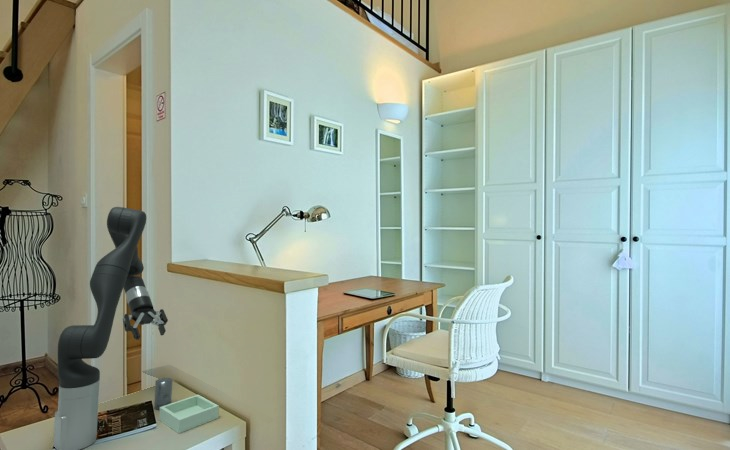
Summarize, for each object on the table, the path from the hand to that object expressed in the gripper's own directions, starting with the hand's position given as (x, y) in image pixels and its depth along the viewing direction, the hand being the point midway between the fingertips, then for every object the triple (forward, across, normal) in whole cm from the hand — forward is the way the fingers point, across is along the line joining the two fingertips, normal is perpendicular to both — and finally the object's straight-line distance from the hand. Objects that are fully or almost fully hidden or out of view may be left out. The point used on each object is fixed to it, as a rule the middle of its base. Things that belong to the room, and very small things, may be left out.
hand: (151, 336), depth 138 cm
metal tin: (+24, 0, +7) cm, 25 cm away
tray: (+34, +1, -4) cm, 35 cm away
